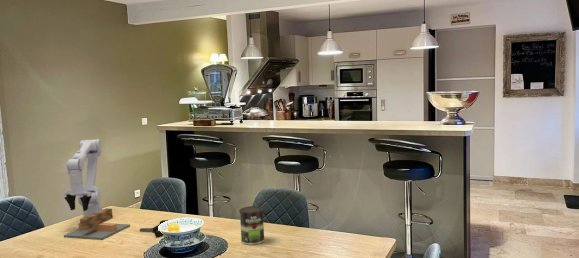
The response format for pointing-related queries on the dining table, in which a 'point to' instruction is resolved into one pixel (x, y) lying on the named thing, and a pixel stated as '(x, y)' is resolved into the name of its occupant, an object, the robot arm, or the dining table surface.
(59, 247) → the dining table surface
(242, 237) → the coffee can
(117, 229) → the stand
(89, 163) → the robot arm
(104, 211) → the walnut beam
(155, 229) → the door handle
